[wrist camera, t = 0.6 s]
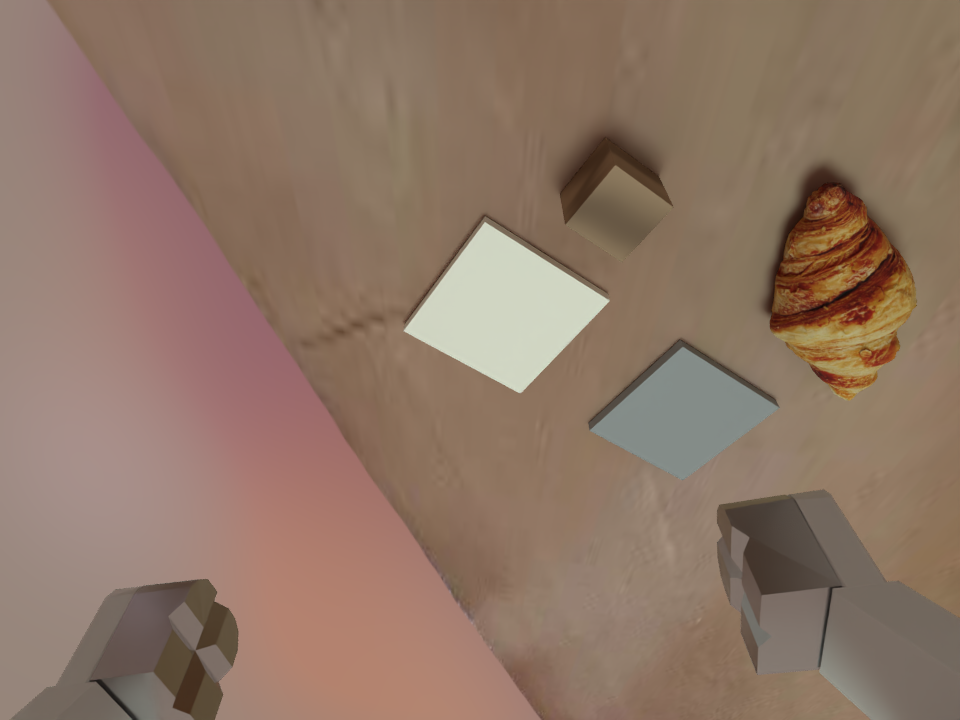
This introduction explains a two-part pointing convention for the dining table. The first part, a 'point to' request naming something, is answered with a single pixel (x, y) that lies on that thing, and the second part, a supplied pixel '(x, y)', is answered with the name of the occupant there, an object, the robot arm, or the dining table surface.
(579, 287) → the pad
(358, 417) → the dining table surface
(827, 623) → the robot arm
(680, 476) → the pad
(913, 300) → the croissant
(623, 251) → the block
